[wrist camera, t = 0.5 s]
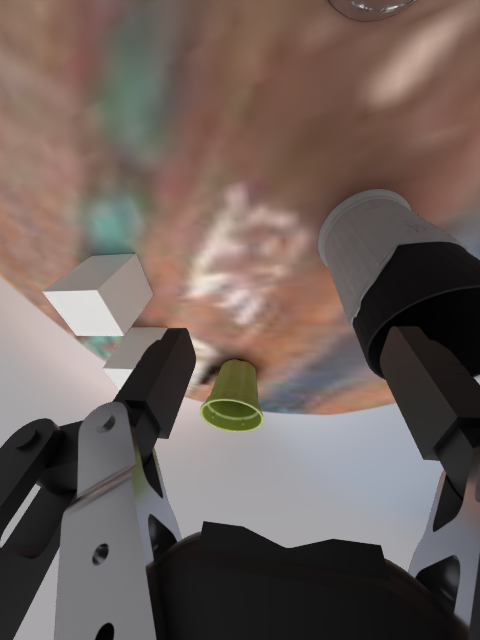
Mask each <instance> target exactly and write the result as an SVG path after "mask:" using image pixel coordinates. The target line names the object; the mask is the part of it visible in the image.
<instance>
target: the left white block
mask: <svg viewBox="0 0 480 640" xmlns="http://www.w3.org/2000/svg"><path fill="white" fill-rule="evenodd" d="M43 293H44V295H45V296H46V297H47V298H48V300H49V301H50V302H51V303H52V305H53V306H54V307H55V309H56V310H57V311H58V312H59V314H60V315H61V316H62V317H63V319H64V320H65V321H66V323H67V324H68V325H69V326H70V328H71V329H72V330H73V331H74V333H75V334H76V335H77V336H125V334H126V333H127V332H128V330H129V329H130V327H131V326H132V325H133V323H134V322H135V320H136V319H137V317H138V316H139V315H140V313H141V312H142V310H143V309H144V307H145V306H146V305H147V303H148V302H149V300H150V299H151V298H152V296H153V293H152V291H151V288H150V286H149V283H148V281H147V279H146V276H145V274H144V271H143V269H142V267H141V264H140V262H139V260H138V257H137V255H136V253H134V254H116V255H98V256H91V257H89V258H88V259H87V260H85V261H84V262H82V263H81V264H80V265H78V266H77V267H76V268H74V269H73V270H72V271H70V272H69V273H67V274H66V275H65V276H63V277H62V278H61V279H59V280H58V281H56V282H55V283H54V284H52V285H51V286H50V287H48V288H47V289H45V290H44V291H43Z"/></svg>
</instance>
